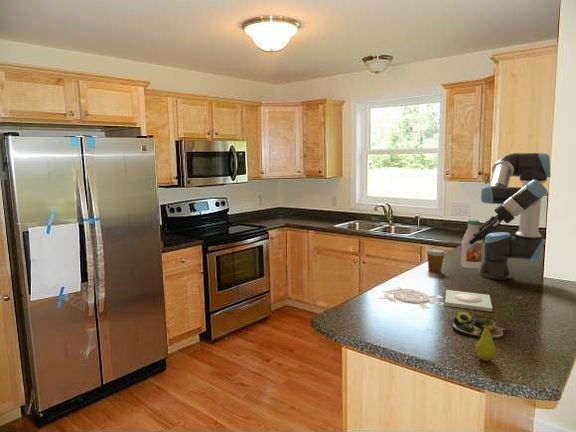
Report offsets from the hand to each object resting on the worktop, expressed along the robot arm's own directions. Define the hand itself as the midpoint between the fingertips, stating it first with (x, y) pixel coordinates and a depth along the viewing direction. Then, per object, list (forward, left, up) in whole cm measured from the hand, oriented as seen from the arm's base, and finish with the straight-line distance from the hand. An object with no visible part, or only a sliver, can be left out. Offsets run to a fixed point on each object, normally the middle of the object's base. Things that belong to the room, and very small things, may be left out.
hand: (463, 246), depth 175 cm
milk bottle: (0, +4, -9) cm, 9 cm away
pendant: (+4, -20, -25) cm, 32 cm away
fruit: (+55, +7, -25) cm, 61 cm away
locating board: (0, +3, -24) cm, 25 cm away
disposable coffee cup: (-46, -13, -25) cm, 54 cm away
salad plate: (+30, +5, -25) cm, 39 cm away
